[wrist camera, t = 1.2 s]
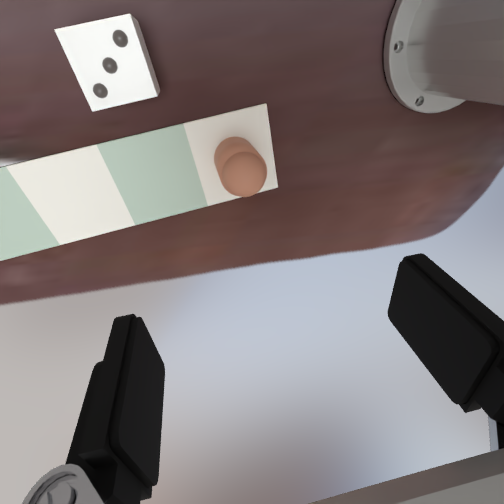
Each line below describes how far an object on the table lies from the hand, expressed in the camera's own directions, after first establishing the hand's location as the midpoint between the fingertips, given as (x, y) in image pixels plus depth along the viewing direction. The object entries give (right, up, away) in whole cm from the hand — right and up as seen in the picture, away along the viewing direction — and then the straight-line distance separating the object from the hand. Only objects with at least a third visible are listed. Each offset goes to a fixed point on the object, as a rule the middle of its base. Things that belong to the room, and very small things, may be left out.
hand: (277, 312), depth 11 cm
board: (-13, +8, +17) cm, 23 cm away
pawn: (-3, +11, +17) cm, 20 cm away
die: (-11, +17, +12) cm, 23 cm away
